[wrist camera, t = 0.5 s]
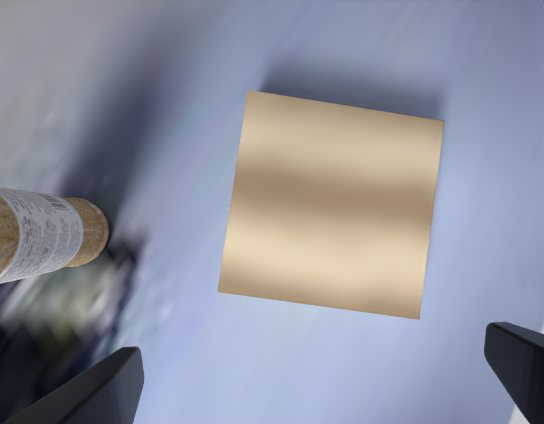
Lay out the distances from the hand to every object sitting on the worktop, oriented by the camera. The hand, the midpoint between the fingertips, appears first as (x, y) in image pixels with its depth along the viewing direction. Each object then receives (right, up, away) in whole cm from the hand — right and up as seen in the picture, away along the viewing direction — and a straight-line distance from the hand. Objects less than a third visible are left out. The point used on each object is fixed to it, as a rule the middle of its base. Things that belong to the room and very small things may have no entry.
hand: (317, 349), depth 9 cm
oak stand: (+2, +4, +14) cm, 15 cm away
